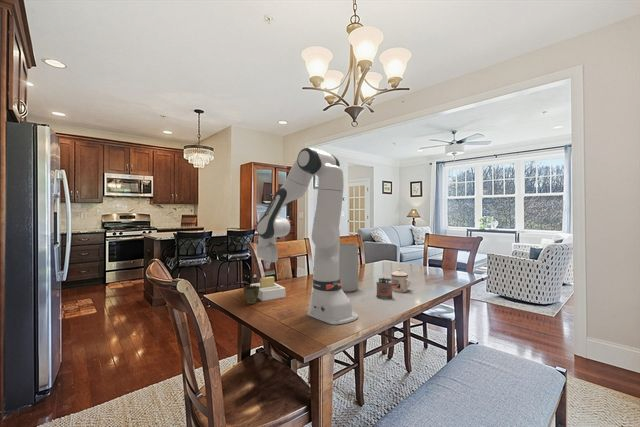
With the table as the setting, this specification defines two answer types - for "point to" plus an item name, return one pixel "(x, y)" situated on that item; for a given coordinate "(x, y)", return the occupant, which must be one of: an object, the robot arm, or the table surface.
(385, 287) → the lighter
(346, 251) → the cylinder vase
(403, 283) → the teacup with lid
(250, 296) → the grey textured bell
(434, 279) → the table surface
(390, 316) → the table surface
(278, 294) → the rack
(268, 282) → the panel
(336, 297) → the robot arm
